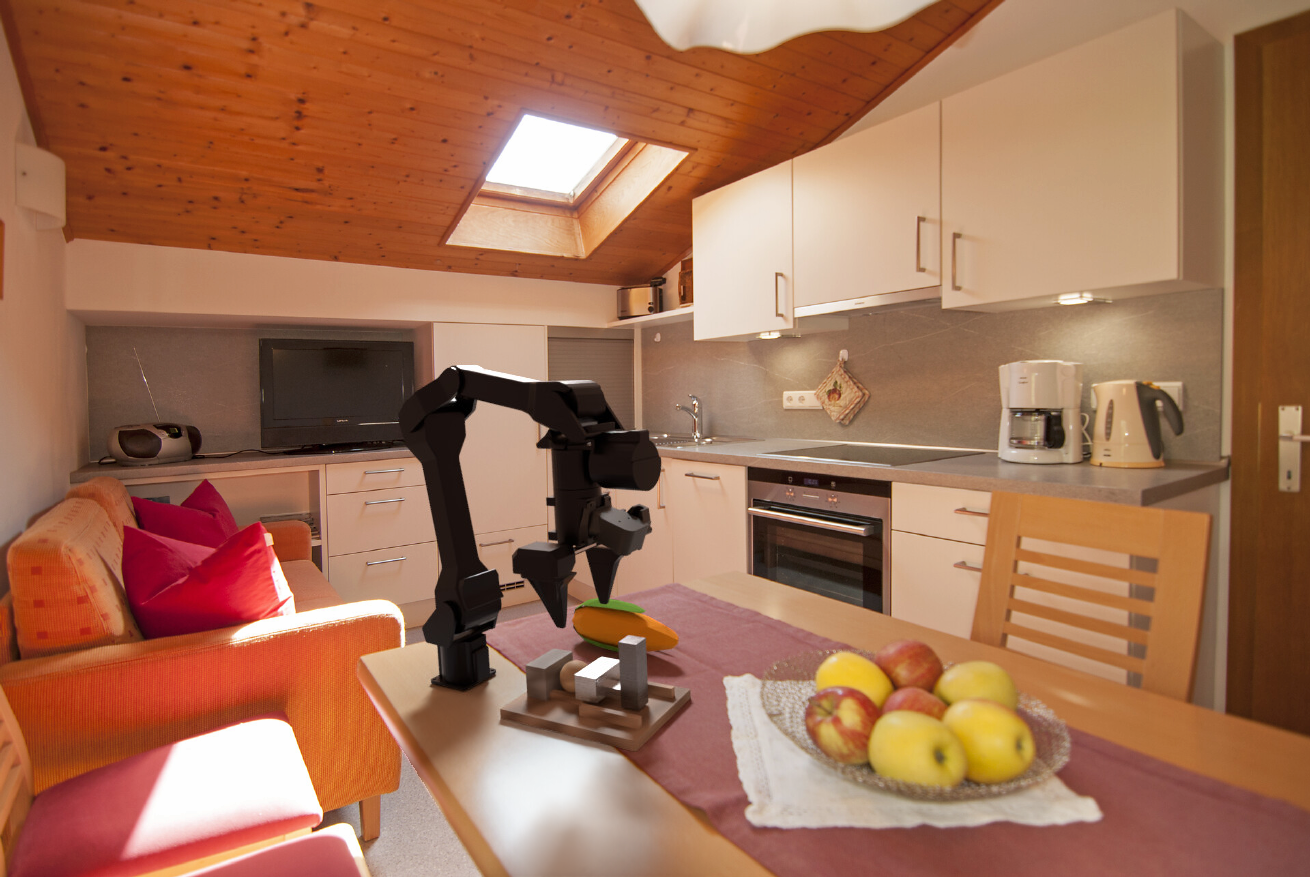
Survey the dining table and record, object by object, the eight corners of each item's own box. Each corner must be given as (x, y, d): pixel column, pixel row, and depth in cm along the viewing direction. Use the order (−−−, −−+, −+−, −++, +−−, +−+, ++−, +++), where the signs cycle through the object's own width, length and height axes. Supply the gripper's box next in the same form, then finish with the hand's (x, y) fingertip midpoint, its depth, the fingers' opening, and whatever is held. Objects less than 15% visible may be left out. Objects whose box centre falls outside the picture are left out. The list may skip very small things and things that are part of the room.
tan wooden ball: (554, 695, 88) (552, 664, 87) (572, 683, 91) (570, 653, 91) (580, 701, 86) (579, 669, 86) (598, 688, 89) (596, 657, 89)
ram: (576, 705, 85) (572, 640, 84) (602, 685, 90) (599, 624, 90) (631, 717, 81) (628, 650, 81) (655, 695, 87) (652, 632, 86)
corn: (590, 584, 114) (692, 603, 102) (595, 628, 115) (696, 653, 103) (558, 599, 108) (662, 622, 96) (563, 646, 109) (667, 674, 97)
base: (500, 718, 86) (498, 676, 85) (567, 673, 98) (565, 636, 97) (636, 751, 77) (633, 704, 76) (690, 698, 89) (689, 657, 88)
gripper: (590, 503, 71) (598, 653, 72) (673, 477, 87) (678, 599, 89) (505, 498, 76) (513, 638, 78) (598, 475, 93) (603, 590, 94)
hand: (583, 615), depth 84 cm, fingers open, 9 cm apart
